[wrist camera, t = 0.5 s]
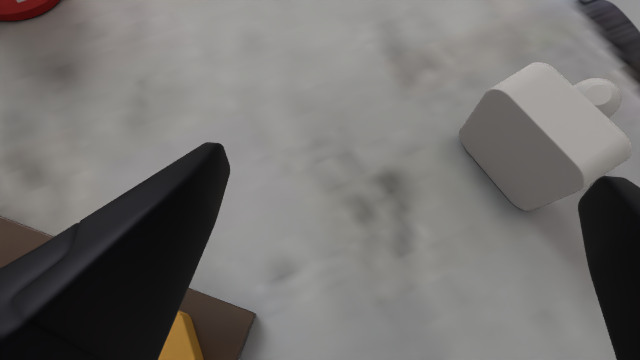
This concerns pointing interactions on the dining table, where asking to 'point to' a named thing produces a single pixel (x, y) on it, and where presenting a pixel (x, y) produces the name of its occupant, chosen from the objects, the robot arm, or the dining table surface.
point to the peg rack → (205, 311)
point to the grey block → (545, 135)
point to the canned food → (24, 8)
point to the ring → (181, 341)
